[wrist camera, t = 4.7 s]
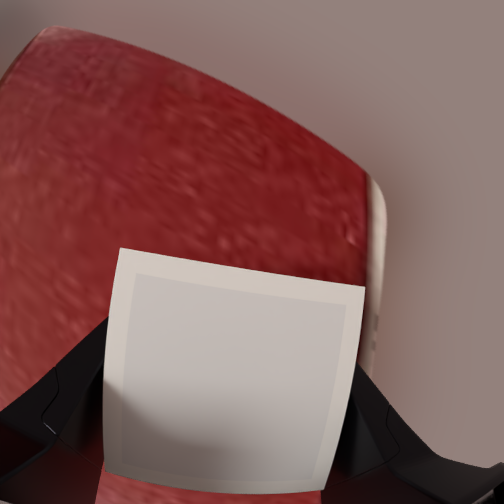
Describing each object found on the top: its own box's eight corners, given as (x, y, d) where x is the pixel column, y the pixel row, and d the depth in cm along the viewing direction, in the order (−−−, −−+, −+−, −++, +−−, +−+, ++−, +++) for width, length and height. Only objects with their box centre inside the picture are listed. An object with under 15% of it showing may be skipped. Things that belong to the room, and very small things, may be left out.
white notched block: (261, 396, 15) (323, 489, 6) (157, 382, 14) (105, 471, 5) (276, 295, 16) (365, 287, 7) (170, 279, 15) (120, 247, 6)
